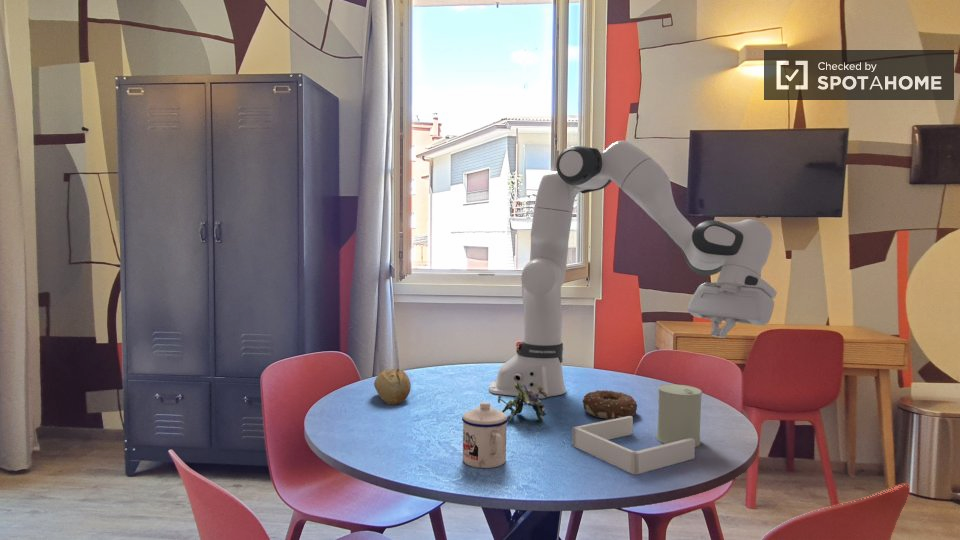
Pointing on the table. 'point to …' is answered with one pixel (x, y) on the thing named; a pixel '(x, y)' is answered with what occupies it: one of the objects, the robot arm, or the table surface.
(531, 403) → the passion flower
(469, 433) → the teacup with lid
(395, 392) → the bread roll
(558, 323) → the robot arm
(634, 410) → the donut
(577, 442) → the tray
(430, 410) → the table surface
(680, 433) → the can
